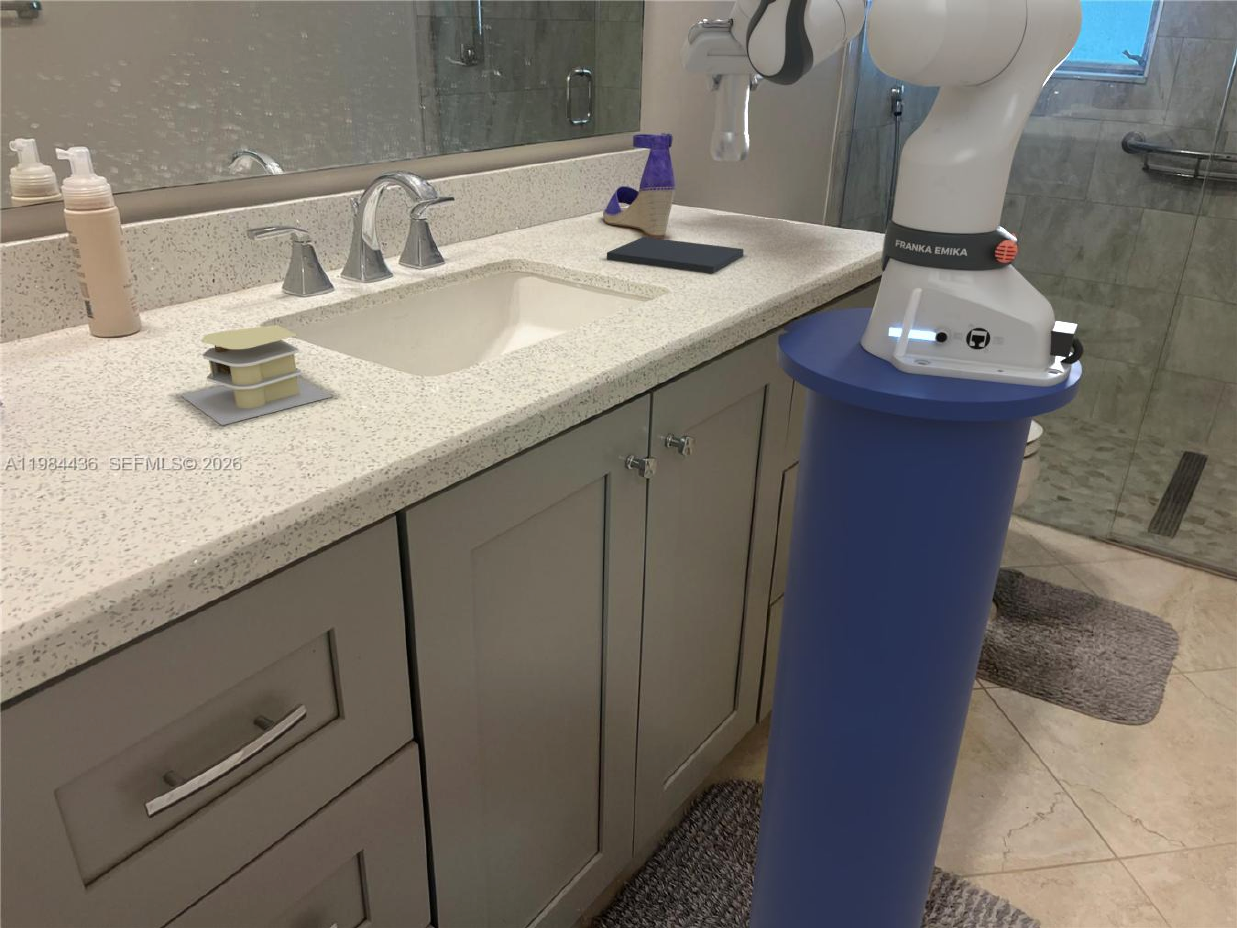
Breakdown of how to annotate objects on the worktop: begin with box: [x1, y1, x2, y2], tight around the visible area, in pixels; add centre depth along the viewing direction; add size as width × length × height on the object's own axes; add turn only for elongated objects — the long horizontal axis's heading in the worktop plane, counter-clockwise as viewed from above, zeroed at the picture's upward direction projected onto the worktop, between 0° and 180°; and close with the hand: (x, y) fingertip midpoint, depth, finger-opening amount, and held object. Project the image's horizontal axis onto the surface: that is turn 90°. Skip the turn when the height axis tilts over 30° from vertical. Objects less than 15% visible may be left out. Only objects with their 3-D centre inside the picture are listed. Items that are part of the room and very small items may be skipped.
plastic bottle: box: [709, 74, 753, 164], centre depth 152 cm, size 6×7×20 cm
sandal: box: [602, 132, 676, 239], centre depth 151 cm, size 8×20×15 cm, turn 15°
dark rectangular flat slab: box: [606, 236, 745, 274], centre depth 135 cm, size 16×12×1 cm
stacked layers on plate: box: [180, 324, 334, 426], centre depth 83 cm, size 10×9×6 cm
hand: (731, 88), depth 152 cm, fingers closed on plastic bottle, 6 cm apart
